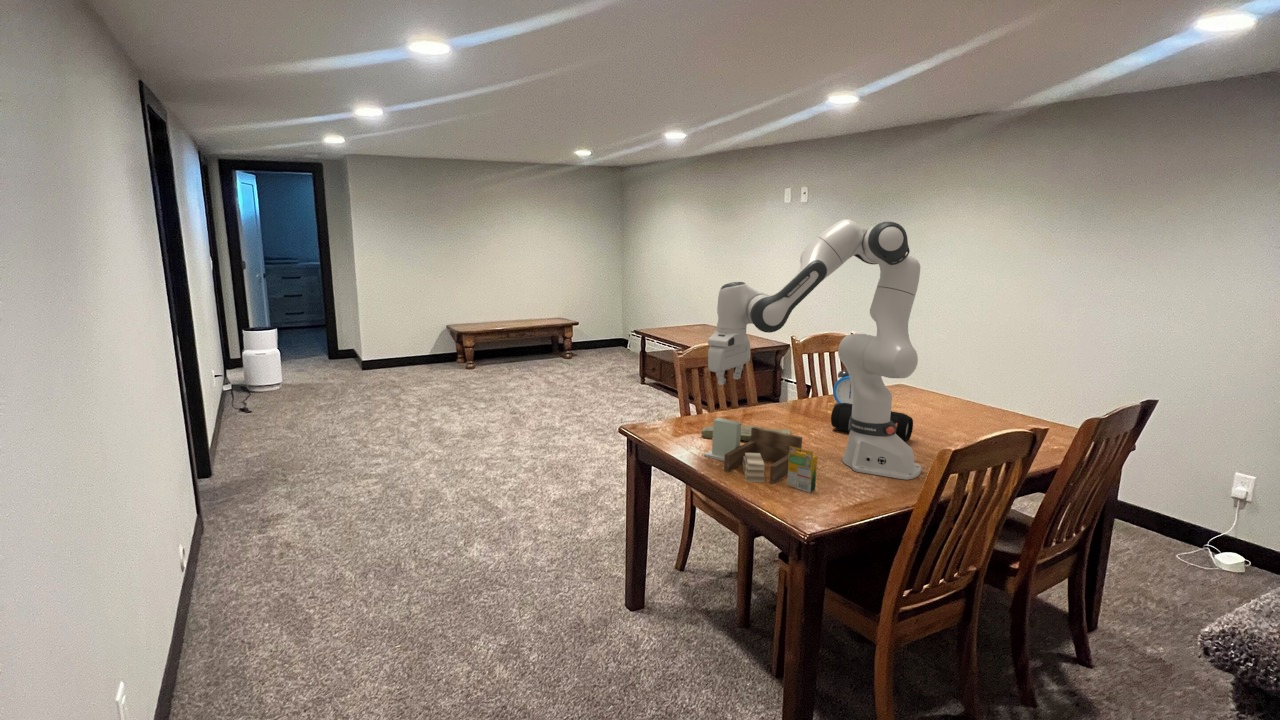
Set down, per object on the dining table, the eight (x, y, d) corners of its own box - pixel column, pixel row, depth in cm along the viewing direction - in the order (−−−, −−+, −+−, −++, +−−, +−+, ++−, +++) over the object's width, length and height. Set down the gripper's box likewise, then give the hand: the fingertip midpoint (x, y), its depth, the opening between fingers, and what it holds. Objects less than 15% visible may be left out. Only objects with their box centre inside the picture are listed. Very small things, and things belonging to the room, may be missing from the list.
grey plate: (747, 456, 208) (747, 454, 208) (735, 464, 201) (735, 461, 201) (716, 449, 214) (716, 447, 214) (703, 456, 208) (704, 453, 208)
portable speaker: (828, 432, 235) (830, 404, 233) (839, 425, 243) (841, 399, 241) (903, 447, 220) (906, 418, 218) (912, 440, 227) (915, 412, 225)
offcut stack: (764, 483, 188) (765, 465, 187) (746, 482, 188) (747, 464, 187) (759, 468, 199) (760, 451, 198) (742, 467, 199) (743, 451, 198)
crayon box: (815, 489, 183) (818, 449, 181) (810, 493, 181) (813, 452, 178) (791, 482, 188) (794, 443, 185) (786, 485, 185) (788, 445, 183)
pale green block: (739, 456, 205) (741, 422, 203) (734, 459, 203) (736, 424, 201) (716, 451, 210) (718, 417, 208) (711, 453, 208) (713, 419, 205)
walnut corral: (800, 465, 201) (802, 437, 199) (774, 483, 187) (776, 453, 185) (752, 454, 210) (753, 426, 208) (723, 470, 196) (725, 441, 194)
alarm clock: (831, 406, 267) (834, 370, 264) (835, 403, 272) (837, 367, 269) (865, 411, 261) (868, 374, 258) (868, 408, 266) (871, 371, 263)
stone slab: (703, 421, 235) (790, 423, 231) (703, 432, 236) (790, 435, 231) (701, 431, 223) (793, 433, 219) (700, 443, 224) (792, 446, 219)
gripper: (738, 331, 210) (736, 374, 213) (704, 340, 194) (703, 386, 197) (756, 333, 206) (754, 376, 209) (723, 342, 190) (722, 389, 193)
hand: (729, 381), depth 203 cm, fingers open, 8 cm apart
